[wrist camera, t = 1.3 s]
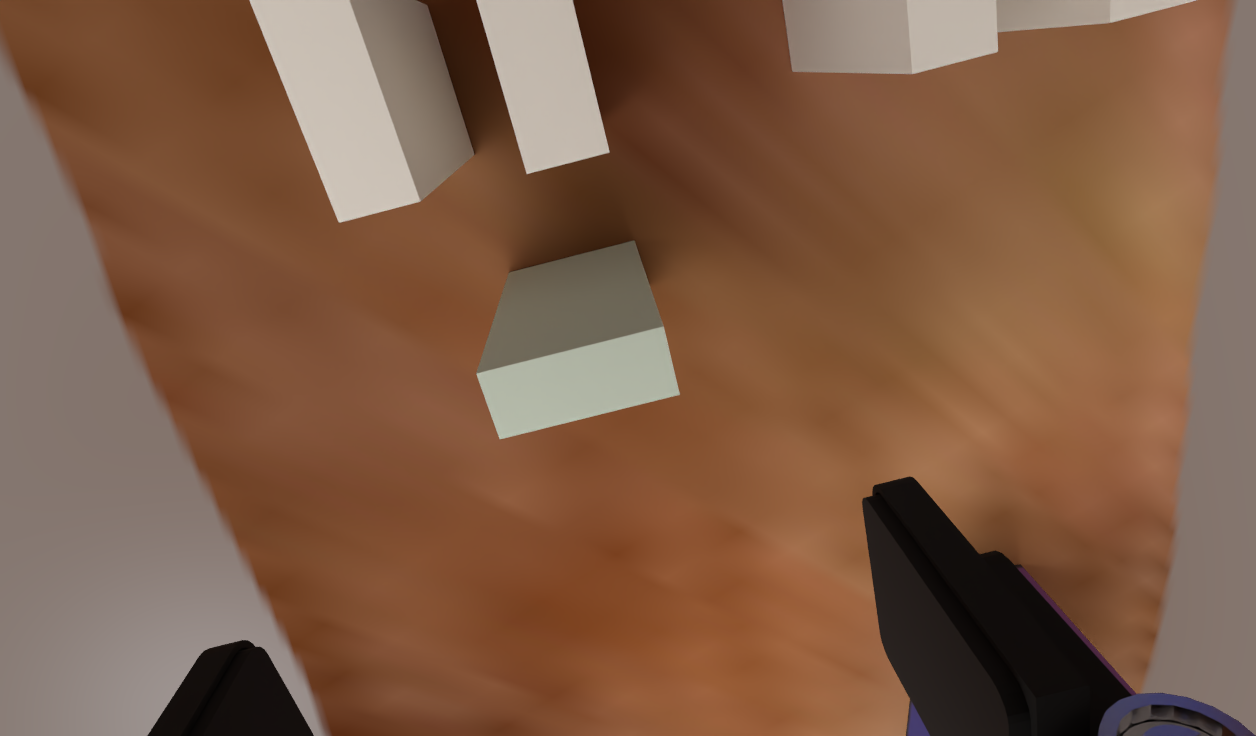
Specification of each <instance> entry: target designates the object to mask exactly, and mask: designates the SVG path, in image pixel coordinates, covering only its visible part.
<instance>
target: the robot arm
mask: <svg viewBox="0 0 1256 736" xmlns="http://www.w3.org/2000/svg"><path fill="white" fill-rule="evenodd" d="M872 493H873V496H870V497H866V498H863V501H862V505H863V514H864V521H865V528H866V535H867V542H868V550H869V557H870V564H871V571H872V578H873V586H874V593H875V600H876V607H877V614H878V622H879V629H880V635H881V639H882V643H883V646H884V649H885V652H886V654H887V657H888V659H889V661H890V663H891V664H892V666H893V668H894V670H895V672H896V674H897V676H898V677H899V679H900V681H901V683H902V685H903V687H904V688H905V690H906V692H907V694H908V696H909V698H910V700H911V701H912V703H913V705H914V707H915V709H916V711H917V713H918V714H919V716H920V718H921V720H922V722H923V724H924V725H925V727H926V729H927V731H928V733H929V735H930V736H1255V735H1254V734H1253V733H1252V732H1251V731H1249V730H1248V729H1247V728H1246V727H1245V726H1244V725H1242V724H1241V723H1240V722H1239V721H1237V720H1236V719H1234V718H1232V717H1230V716H1229V715H1227V714H1225V713H1223V712H1222V711H1220V710H1218V709H1216V708H1215V707H1213V706H1210V705H1207V704H1204V703H1202V702H1199V701H1196V700H1193V699H1191V698H1188V697H1183V696H1177V695H1171V694H1165V693H1147V694H1136V695H1133V696H1132V695H1131V694H1130V693H1129V691H1128V690H1127V689H1126V688H1125V687H1124V686H1123V685H1122V684H1121V683H1120V682H1119V680H1118V679H1117V678H1116V677H1115V676H1114V675H1113V674H1112V673H1111V672H1110V670H1109V669H1108V668H1107V667H1106V666H1105V665H1104V664H1103V663H1102V662H1101V661H1100V659H1099V658H1098V657H1097V656H1096V655H1095V654H1094V653H1093V652H1092V651H1091V649H1090V648H1089V647H1088V646H1087V645H1086V644H1085V643H1084V642H1083V641H1082V639H1081V638H1080V637H1079V636H1078V635H1077V634H1076V633H1075V632H1074V631H1073V630H1072V628H1071V627H1070V626H1069V625H1068V624H1067V623H1066V622H1065V621H1064V620H1063V618H1062V617H1061V616H1060V615H1059V614H1058V613H1057V612H1056V611H1055V610H1054V608H1053V607H1052V606H1051V605H1050V604H1049V603H1048V602H1047V601H1046V600H1045V599H1044V597H1043V596H1042V595H1041V594H1040V593H1039V592H1038V591H1037V590H1036V589H1035V587H1034V586H1033V585H1032V584H1031V583H1030V582H1029V581H1028V580H1027V579H1026V577H1025V576H1024V575H1023V574H1022V573H1021V572H1020V571H1019V570H1018V569H1017V568H1016V566H1015V565H1014V564H1013V563H1012V562H1011V561H1010V560H1009V559H1008V558H1007V557H1006V556H1005V555H1003V554H1002V553H1000V552H998V551H992V552H988V553H984V554H979V553H978V552H977V551H976V550H975V549H974V548H973V546H972V545H971V544H970V543H969V542H968V541H967V539H966V538H965V537H964V536H963V535H962V534H961V532H960V531H959V530H958V529H957V528H956V526H955V525H954V524H953V523H952V522H951V521H950V519H949V518H948V517H947V516H946V515H945V514H944V512H943V511H942V510H941V509H940V508H939V506H938V505H937V504H936V503H935V502H934V501H933V499H932V498H931V497H930V496H929V495H928V494H927V492H926V491H925V490H924V489H923V488H922V486H921V485H920V484H919V483H918V482H917V481H916V480H915V479H914V478H913V477H906V478H902V479H898V480H894V481H890V482H886V483H881V484H877V485H874V487H873V491H872ZM148 736H314V735H313V733H312V731H311V730H310V728H309V726H308V724H307V723H306V721H305V719H304V717H303V716H302V714H301V712H300V710H299V708H298V707H297V705H296V703H295V701H294V700H293V698H292V696H291V694H290V693H289V691H288V689H287V687H286V686H285V684H284V682H283V680H282V678H281V677H280V675H279V673H278V671H277V670H276V668H275V666H274V664H273V663H272V661H271V659H270V657H269V655H268V654H267V652H266V651H265V650H264V649H263V648H261V647H255V646H254V645H253V644H252V643H251V642H249V641H246V640H242V641H238V642H234V643H229V644H225V645H221V646H217V647H213V648H209V649H207V650H205V651H204V652H203V653H202V654H201V655H200V656H199V658H198V659H197V660H196V662H195V664H194V665H193V667H192V668H191V670H190V671H189V673H188V674H187V676H186V677H185V679H184V681H183V682H182V684H181V685H180V687H179V688H178V690H177V691H176V693H175V695H174V696H173V697H172V699H171V701H170V702H169V704H168V705H167V707H166V708H165V710H164V711H163V713H162V714H161V716H160V717H159V719H158V721H157V722H156V724H155V725H154V727H153V728H152V730H151V732H150V733H149V734H148Z"/></svg>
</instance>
